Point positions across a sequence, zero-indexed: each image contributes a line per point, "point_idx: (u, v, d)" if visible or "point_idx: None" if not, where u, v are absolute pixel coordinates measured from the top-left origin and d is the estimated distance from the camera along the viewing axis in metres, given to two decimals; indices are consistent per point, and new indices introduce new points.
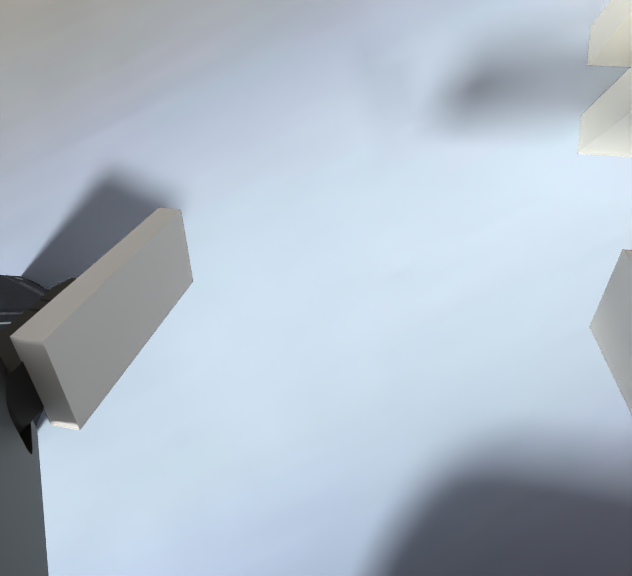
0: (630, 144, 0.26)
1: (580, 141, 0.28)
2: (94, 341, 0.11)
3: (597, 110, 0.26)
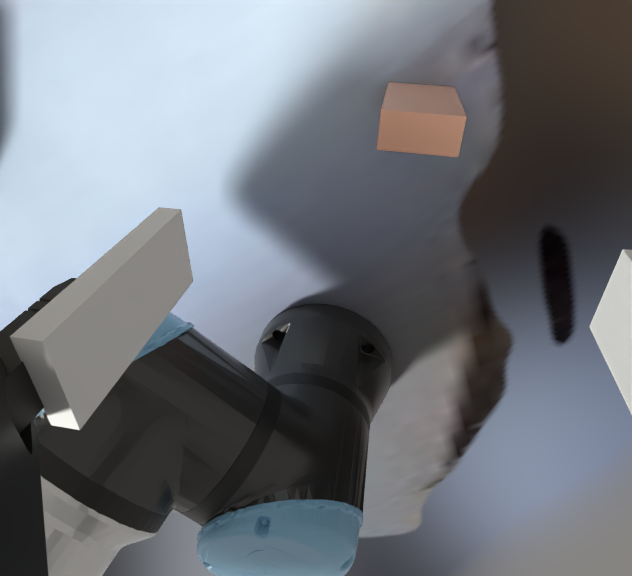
0: None
1: None
2: (94, 341, 0.11)
3: None
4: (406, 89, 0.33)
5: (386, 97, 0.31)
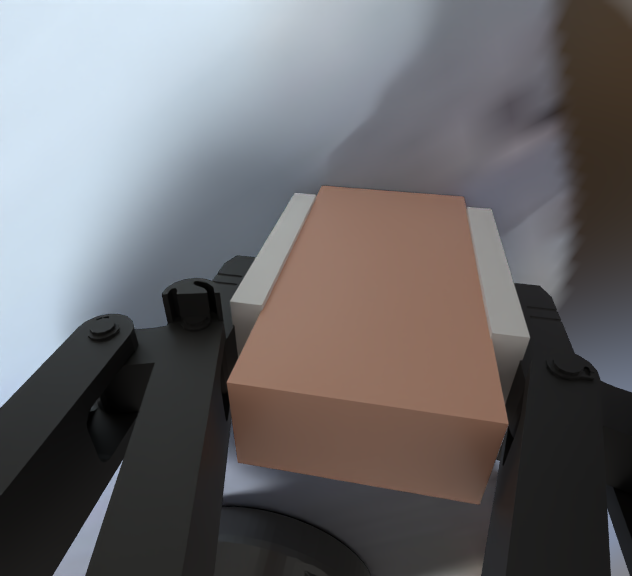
0: None
1: None
2: None
3: None
4: (351, 220, 0.14)
5: (283, 276, 0.12)
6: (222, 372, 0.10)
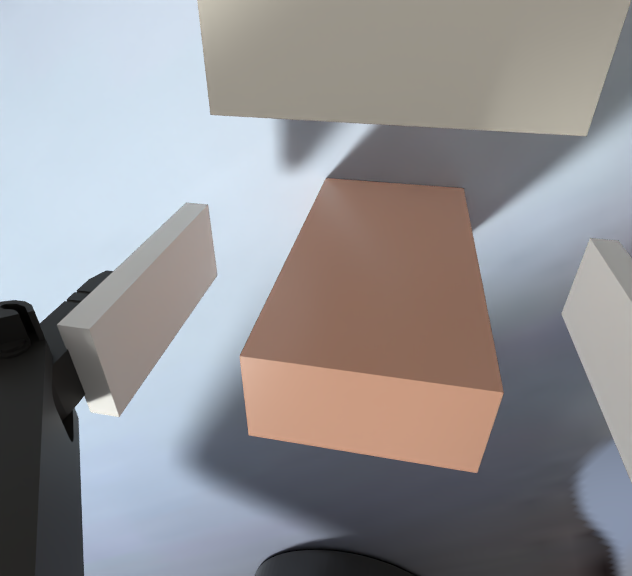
0: None
1: None
2: (132, 331, 0.11)
3: None
4: (355, 210, 0.15)
5: (290, 261, 0.12)
6: None
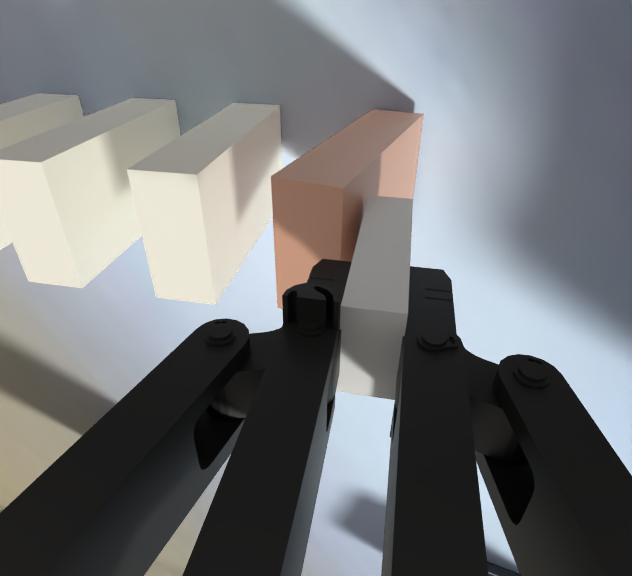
0: None
1: None
2: None
3: None
4: None
5: None
6: (332, 377, 0.10)
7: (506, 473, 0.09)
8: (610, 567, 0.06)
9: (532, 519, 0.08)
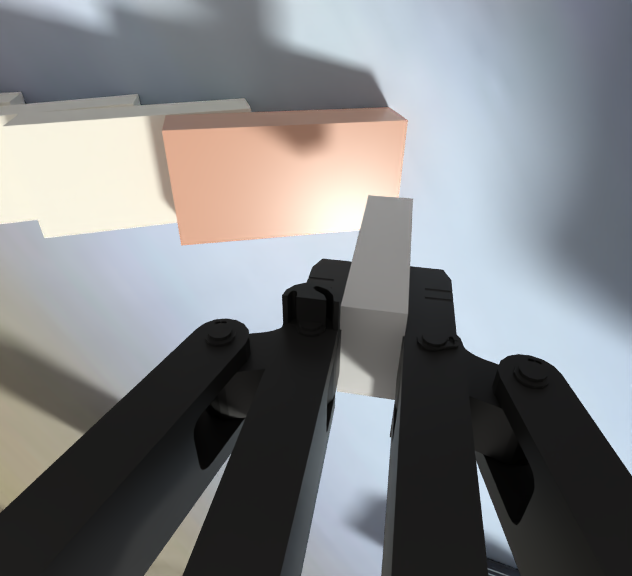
0: None
1: None
2: None
3: None
4: None
5: None
6: (332, 377, 0.10)
7: (506, 473, 0.09)
8: (610, 567, 0.06)
9: (532, 519, 0.08)
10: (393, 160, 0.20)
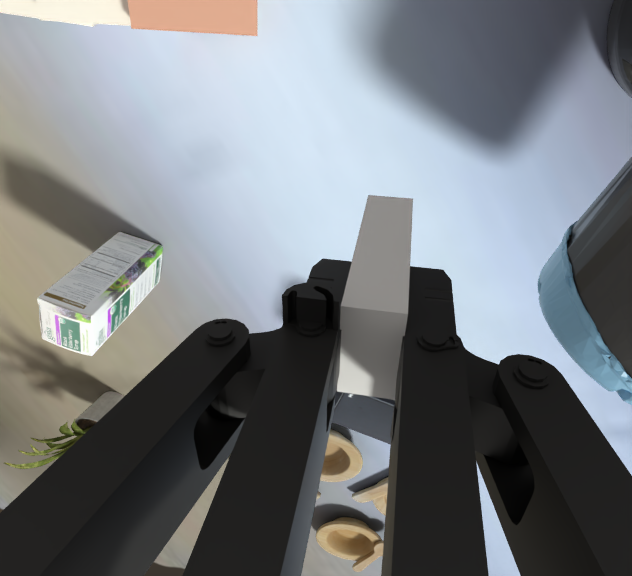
0: None
1: None
2: None
3: None
4: None
5: None
6: (332, 377, 0.10)
7: (506, 473, 0.09)
8: (610, 567, 0.06)
9: (532, 519, 0.08)
10: None
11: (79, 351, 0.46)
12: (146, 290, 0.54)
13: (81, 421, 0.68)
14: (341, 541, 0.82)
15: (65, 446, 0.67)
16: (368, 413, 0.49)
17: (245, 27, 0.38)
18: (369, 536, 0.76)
